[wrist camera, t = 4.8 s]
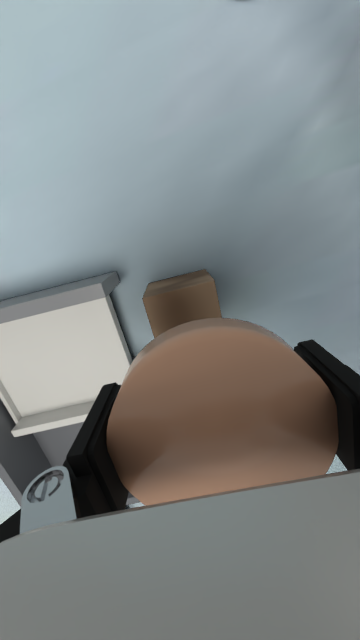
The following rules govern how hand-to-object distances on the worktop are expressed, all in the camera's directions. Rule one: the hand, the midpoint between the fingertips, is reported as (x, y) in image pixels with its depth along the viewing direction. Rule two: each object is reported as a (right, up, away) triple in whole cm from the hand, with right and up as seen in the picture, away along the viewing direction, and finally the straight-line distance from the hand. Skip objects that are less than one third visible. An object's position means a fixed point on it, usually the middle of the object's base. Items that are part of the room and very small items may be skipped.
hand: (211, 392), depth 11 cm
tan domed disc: (0, 0, -1) cm, 1 cm away
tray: (-12, -1, +13) cm, 18 cm away
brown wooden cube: (-1, +5, +11) cm, 12 cm away
